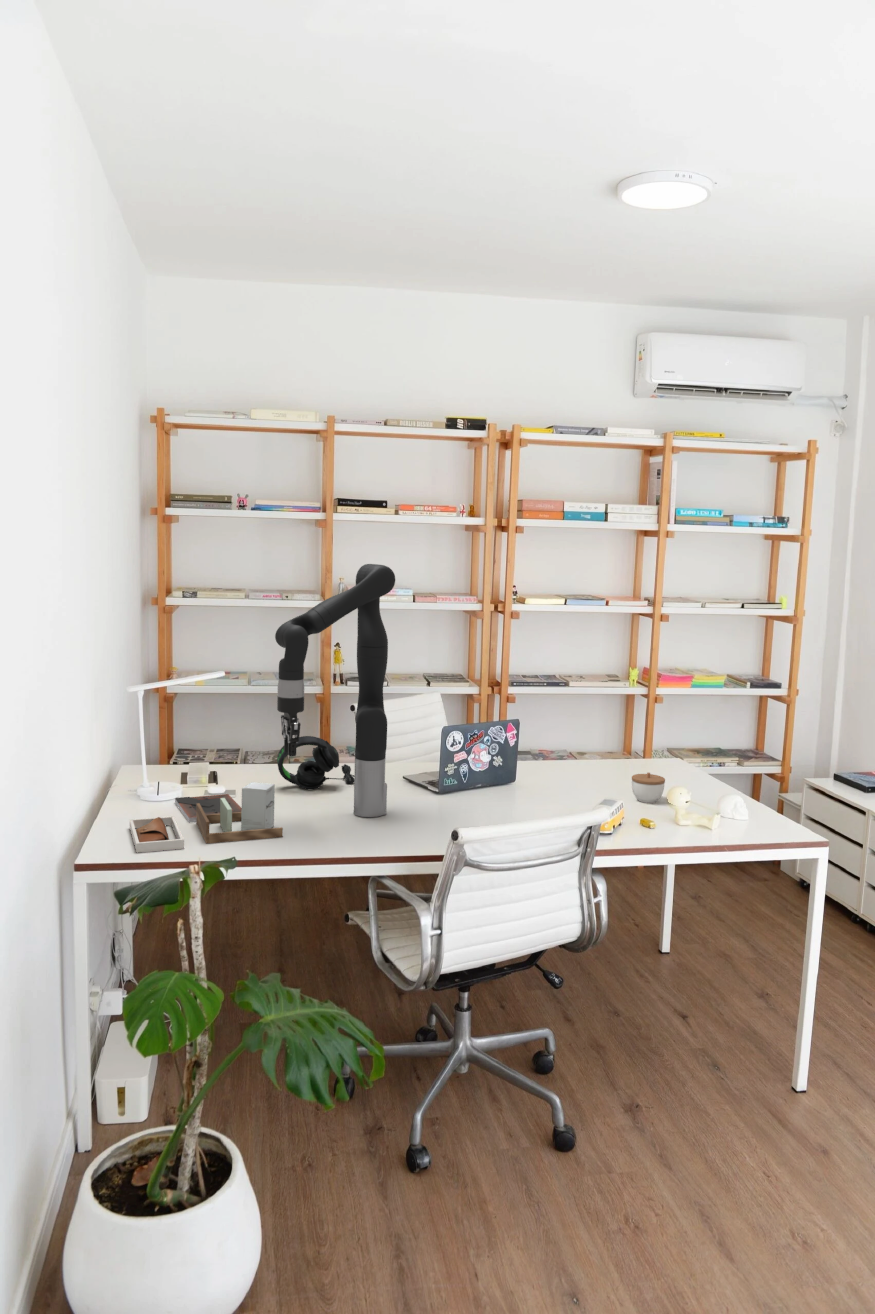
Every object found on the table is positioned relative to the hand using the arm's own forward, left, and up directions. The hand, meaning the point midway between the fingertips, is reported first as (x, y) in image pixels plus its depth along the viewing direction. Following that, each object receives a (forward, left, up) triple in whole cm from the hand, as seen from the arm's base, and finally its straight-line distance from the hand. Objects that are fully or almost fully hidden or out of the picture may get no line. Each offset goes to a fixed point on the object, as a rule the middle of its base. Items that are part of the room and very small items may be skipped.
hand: (290, 753), depth 275 cm
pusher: (+18, 0, -21) cm, 28 cm away
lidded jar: (-119, +4, -22) cm, 121 cm away
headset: (-19, -41, -22) cm, 50 cm away
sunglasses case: (+38, +1, -22) cm, 44 cm away
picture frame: (+19, -22, -22) cm, 37 cm away
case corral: (+37, +1, -21) cm, 43 cm away
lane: (+14, 0, -21) cm, 25 cm away
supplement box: (+9, 0, -22) cm, 23 cm away
